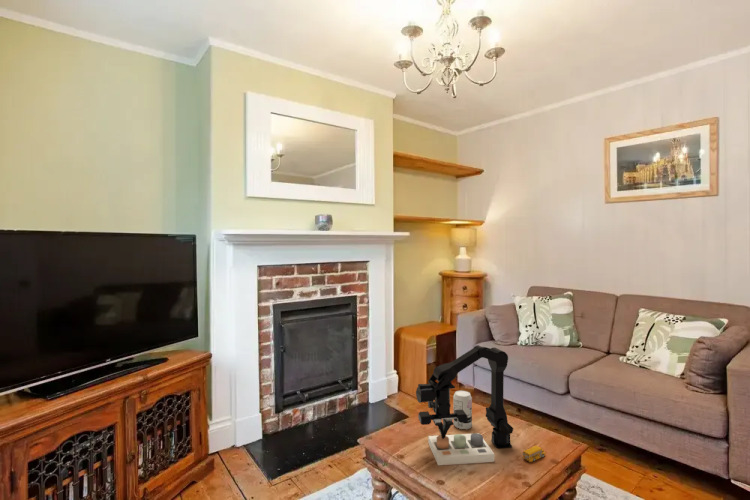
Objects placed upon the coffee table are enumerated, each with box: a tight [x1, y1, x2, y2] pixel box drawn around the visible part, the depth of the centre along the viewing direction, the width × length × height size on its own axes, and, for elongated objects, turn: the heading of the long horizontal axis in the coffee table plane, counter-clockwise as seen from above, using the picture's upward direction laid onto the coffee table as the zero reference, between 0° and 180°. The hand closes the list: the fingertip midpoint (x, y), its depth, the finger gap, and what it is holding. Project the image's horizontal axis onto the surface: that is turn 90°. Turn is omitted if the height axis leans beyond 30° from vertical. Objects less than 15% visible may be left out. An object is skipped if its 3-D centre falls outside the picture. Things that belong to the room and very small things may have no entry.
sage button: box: [453, 433, 466, 449], centre depth 154 cm, size 5×5×3 cm
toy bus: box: [522, 445, 546, 463], centre depth 149 cm, size 3×10×4 cm, turn 121°
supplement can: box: [452, 390, 473, 430], centre depth 175 cm, size 8×8×15 cm
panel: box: [427, 432, 495, 466], centre depth 154 cm, size 22×16×3 cm
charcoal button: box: [470, 432, 484, 448], centre depth 154 cm, size 5×5×3 cm
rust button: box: [436, 434, 449, 450], centre depth 153 cm, size 5×5×3 cm
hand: (442, 438), depth 153 cm, fingers closed
